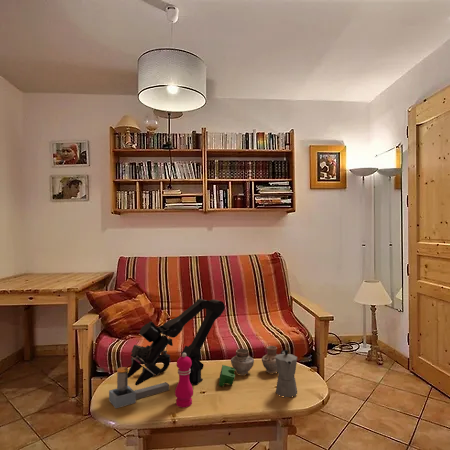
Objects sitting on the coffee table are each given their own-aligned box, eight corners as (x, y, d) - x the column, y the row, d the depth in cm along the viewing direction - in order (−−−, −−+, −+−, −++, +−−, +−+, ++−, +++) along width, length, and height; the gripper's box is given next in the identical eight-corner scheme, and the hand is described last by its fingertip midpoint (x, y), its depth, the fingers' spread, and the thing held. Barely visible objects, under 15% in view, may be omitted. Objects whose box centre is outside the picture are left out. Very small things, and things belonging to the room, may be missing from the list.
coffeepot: (301, 400, 143) (301, 355, 143) (278, 400, 142) (278, 355, 143) (292, 384, 158) (292, 343, 159) (271, 384, 158) (271, 343, 158)
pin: (128, 399, 143) (128, 366, 144) (126, 404, 139) (126, 370, 140) (118, 399, 143) (118, 367, 144) (115, 404, 139) (116, 370, 140)
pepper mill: (176, 399, 143) (176, 349, 144) (194, 399, 143) (194, 349, 144) (173, 408, 136) (173, 355, 137) (192, 408, 136) (192, 356, 136)
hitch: (163, 385, 156) (163, 376, 156) (171, 392, 150) (171, 382, 150) (109, 400, 142) (109, 390, 142) (115, 408, 136) (115, 397, 136)
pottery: (284, 376, 167) (284, 350, 167) (232, 378, 165) (232, 352, 165) (278, 367, 178) (278, 343, 178) (229, 369, 176) (229, 344, 176)
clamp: (230, 395, 156) (234, 380, 153) (217, 392, 156) (221, 377, 153) (232, 375, 167) (236, 360, 164) (220, 372, 167) (224, 357, 164)
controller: (170, 373, 170) (170, 352, 171) (144, 375, 168) (144, 354, 168) (170, 369, 175) (170, 349, 175) (144, 371, 172) (144, 351, 172)
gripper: (135, 332, 155) (109, 363, 148) (152, 343, 140) (125, 378, 133) (151, 346, 159) (128, 377, 153) (171, 358, 144) (145, 393, 137)
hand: (131, 381), depth 144 cm, fingers open, 9 cm apart
